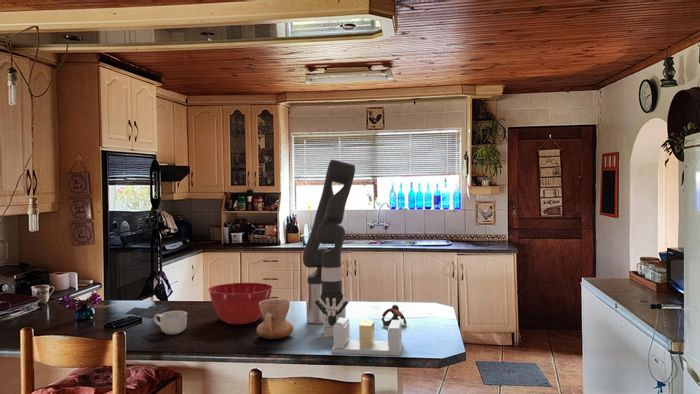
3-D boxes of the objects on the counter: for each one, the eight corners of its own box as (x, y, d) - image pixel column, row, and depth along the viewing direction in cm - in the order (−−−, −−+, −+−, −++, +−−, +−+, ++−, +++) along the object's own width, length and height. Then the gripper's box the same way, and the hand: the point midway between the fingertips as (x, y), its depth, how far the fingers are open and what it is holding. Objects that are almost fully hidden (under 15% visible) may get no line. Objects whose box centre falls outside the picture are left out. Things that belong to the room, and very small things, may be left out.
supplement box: (322, 332, 220) (322, 295, 220) (344, 331, 221) (343, 295, 220) (323, 338, 211) (322, 300, 211) (346, 337, 212) (345, 299, 211)
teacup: (192, 330, 226) (192, 311, 226) (176, 337, 216) (175, 317, 216) (165, 328, 231) (164, 309, 231) (148, 334, 221) (147, 315, 221)
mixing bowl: (257, 311, 260) (257, 279, 260) (284, 323, 236) (283, 288, 236) (200, 320, 244) (199, 286, 244) (222, 333, 221) (221, 296, 220)
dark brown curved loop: (408, 330, 225) (397, 319, 221) (389, 337, 229) (378, 327, 225) (408, 308, 234) (397, 297, 230) (390, 315, 238) (379, 305, 234)
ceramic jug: (265, 330, 224) (265, 296, 224) (298, 332, 221) (298, 297, 221) (248, 342, 206) (248, 306, 206) (284, 344, 203) (283, 307, 203)
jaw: (317, 347, 192) (316, 325, 192) (324, 338, 204) (324, 317, 204) (344, 348, 191) (344, 326, 190) (350, 339, 202) (350, 317, 202)
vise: (331, 352, 191) (331, 326, 191) (338, 343, 203) (337, 318, 203) (400, 355, 187) (400, 328, 187) (403, 345, 199) (402, 320, 199)
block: (359, 347, 192) (359, 325, 192) (362, 342, 199) (362, 320, 199) (372, 347, 192) (371, 325, 191) (374, 342, 198) (374, 320, 198)
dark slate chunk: (142, 311, 266) (142, 302, 266) (177, 315, 256) (176, 305, 256) (117, 318, 252) (117, 308, 252) (153, 322, 243) (152, 312, 242)
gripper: (351, 277, 201) (351, 323, 201) (316, 277, 203) (317, 322, 203) (347, 280, 193) (348, 328, 193) (311, 280, 196) (312, 327, 196)
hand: (332, 325), depth 198 cm, fingers closed
